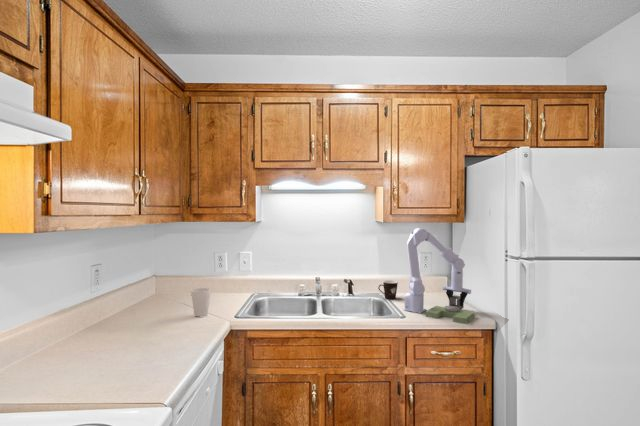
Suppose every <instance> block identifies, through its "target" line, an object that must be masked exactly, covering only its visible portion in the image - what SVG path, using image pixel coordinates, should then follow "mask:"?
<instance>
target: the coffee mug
mask: <svg viewBox="0 0 640 426" xmlns="http://www.w3.org/2000/svg"><path fill="white" fill-rule="evenodd" d="M398 284H399V283H398V281H396V280H390V279H389V280H384V281H383V284H379V285H378V291H380V293H382V294H384V299H385V300H390V301H391V300H397V299H396V298H397V293H398V292H397V290H398ZM381 286H382V287H383V291H382V290H381V289H380V288H381Z"/></svg>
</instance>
